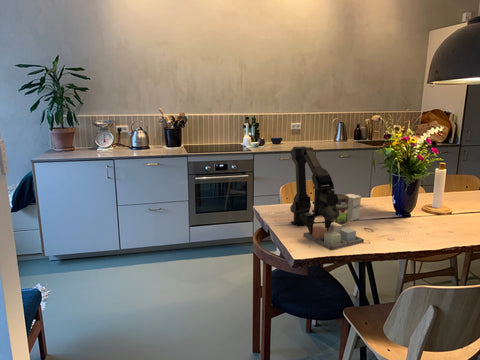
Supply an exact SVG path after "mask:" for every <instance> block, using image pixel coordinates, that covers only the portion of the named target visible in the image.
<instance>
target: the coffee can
mask: <svg viewBox="0 0 480 360" xmlns="http://www.w3.org/2000/svg"><path fill="white" fill-rule="evenodd" d="M335 194H336V195H337V196H338V202H337V204H336V205H334V206H329V207H330V208H338V211H339V217H337V218H336V219H334V220H333V221H332V223H333V222H335V223H338V224H340V225H342V227H343V226H346V225H347V224H348V220H347V214H348V200H349V197H348V196H346V195H347V194H342V193H341V194H339V193H335Z"/></svg>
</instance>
